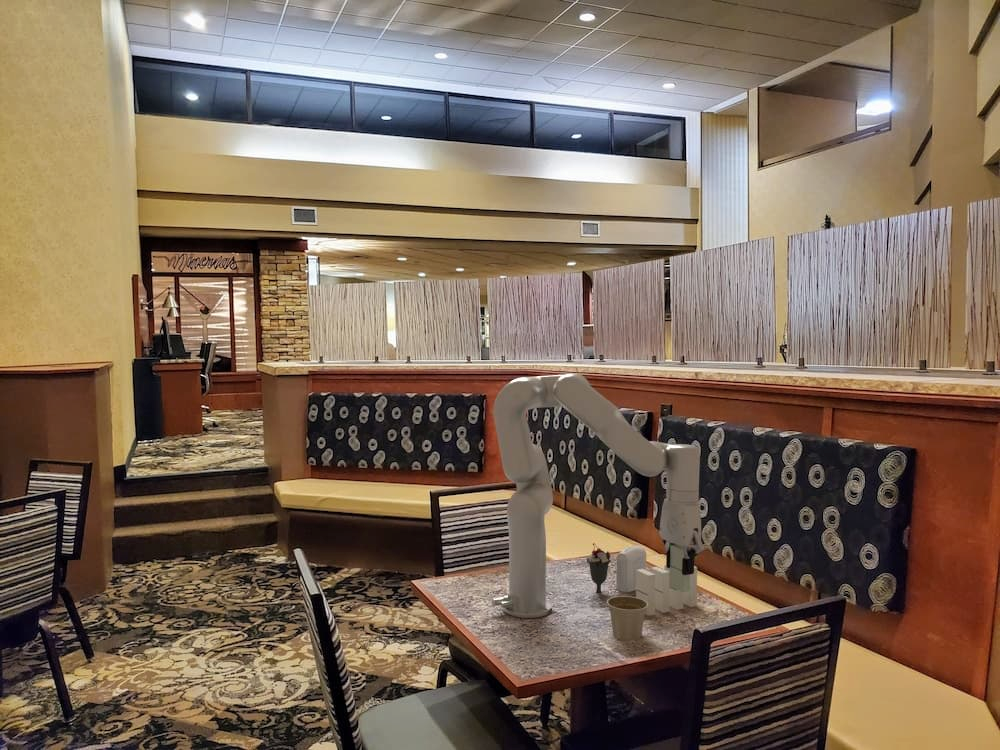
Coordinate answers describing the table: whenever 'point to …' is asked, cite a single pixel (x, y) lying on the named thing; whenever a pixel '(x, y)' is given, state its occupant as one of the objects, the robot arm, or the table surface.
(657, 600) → the domino
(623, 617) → the flower pot
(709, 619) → the table surface
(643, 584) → the domino
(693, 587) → the domino
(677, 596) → the domino
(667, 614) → the domino board
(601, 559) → the sundae
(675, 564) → the pale green domino
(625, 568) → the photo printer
